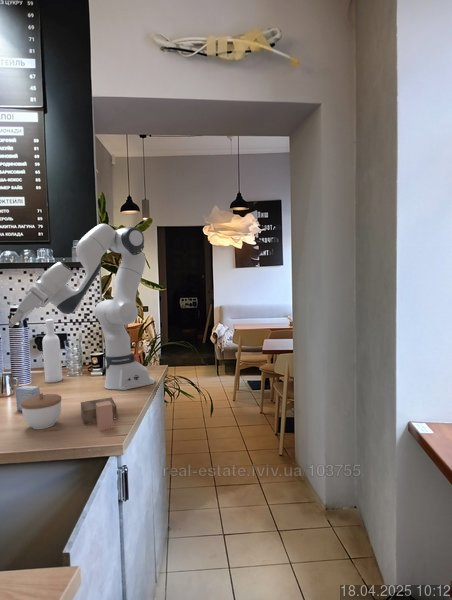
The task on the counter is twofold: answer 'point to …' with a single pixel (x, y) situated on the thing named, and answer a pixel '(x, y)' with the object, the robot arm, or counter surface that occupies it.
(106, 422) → the terracotta block
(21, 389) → the medicine box
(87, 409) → the walnut block
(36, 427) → the lidded bowl
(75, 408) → the counter surface
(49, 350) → the bottle
